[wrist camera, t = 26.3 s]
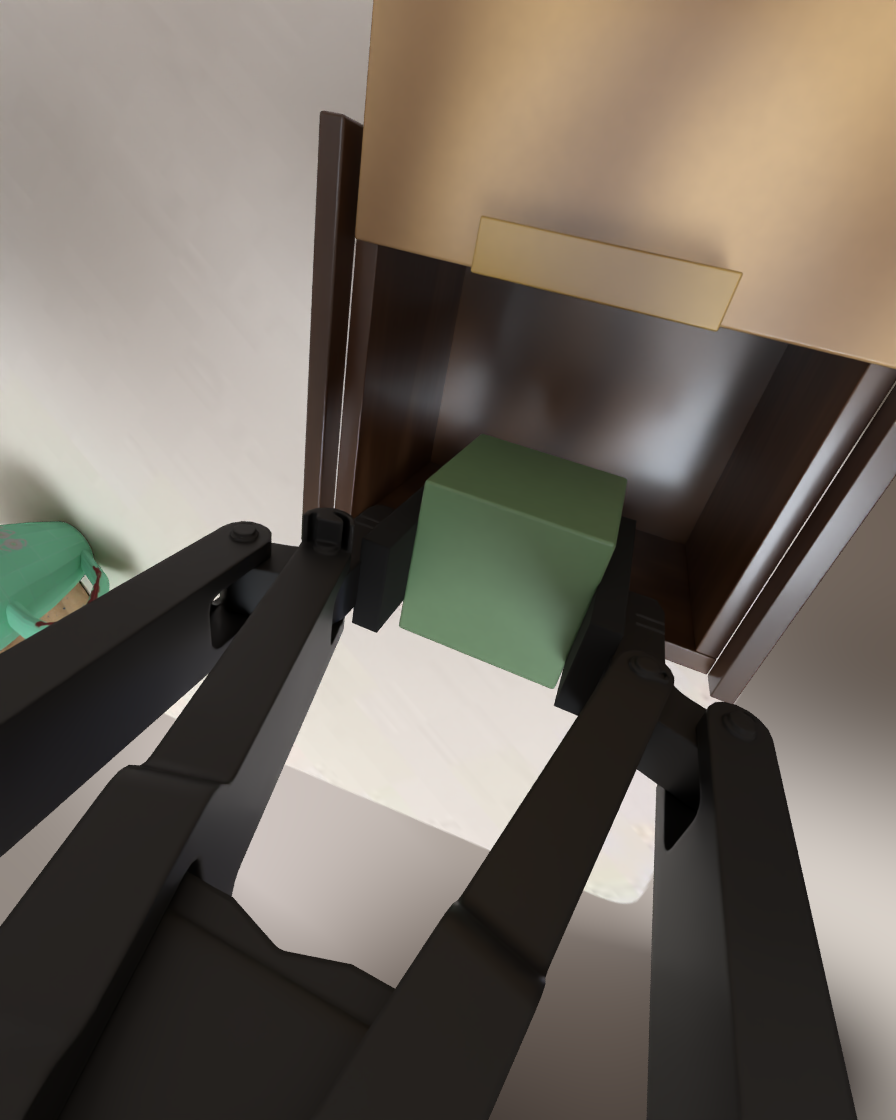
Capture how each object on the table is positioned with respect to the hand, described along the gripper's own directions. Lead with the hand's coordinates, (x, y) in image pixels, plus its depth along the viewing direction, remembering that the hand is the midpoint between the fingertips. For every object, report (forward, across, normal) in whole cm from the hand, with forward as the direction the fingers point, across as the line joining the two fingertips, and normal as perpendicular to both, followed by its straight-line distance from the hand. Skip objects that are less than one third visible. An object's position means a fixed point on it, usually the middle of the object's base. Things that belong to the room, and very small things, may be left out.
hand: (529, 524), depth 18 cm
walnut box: (+11, 0, +3) cm, 11 cm away
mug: (+11, -37, -22) cm, 45 cm away
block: (0, 0, 0) cm, 0 cm away
